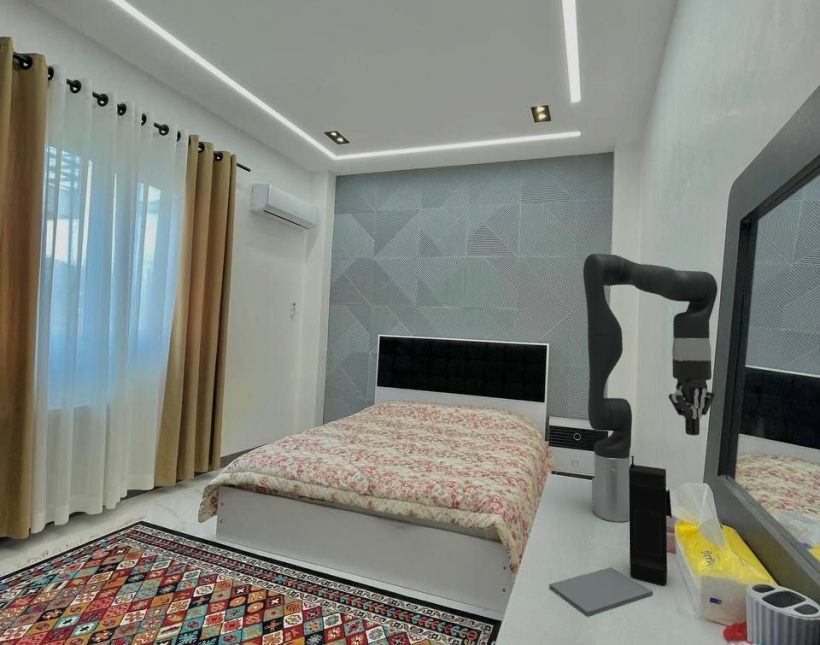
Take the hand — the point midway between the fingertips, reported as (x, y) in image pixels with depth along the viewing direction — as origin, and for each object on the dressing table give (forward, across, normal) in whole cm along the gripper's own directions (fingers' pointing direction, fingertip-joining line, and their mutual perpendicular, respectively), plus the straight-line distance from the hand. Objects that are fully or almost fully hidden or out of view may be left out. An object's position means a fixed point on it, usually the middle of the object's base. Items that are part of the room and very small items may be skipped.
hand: (692, 434), depth 102 cm
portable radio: (+29, +14, 0) cm, 32 cm away
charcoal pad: (+29, +28, 0) cm, 40 cm away
